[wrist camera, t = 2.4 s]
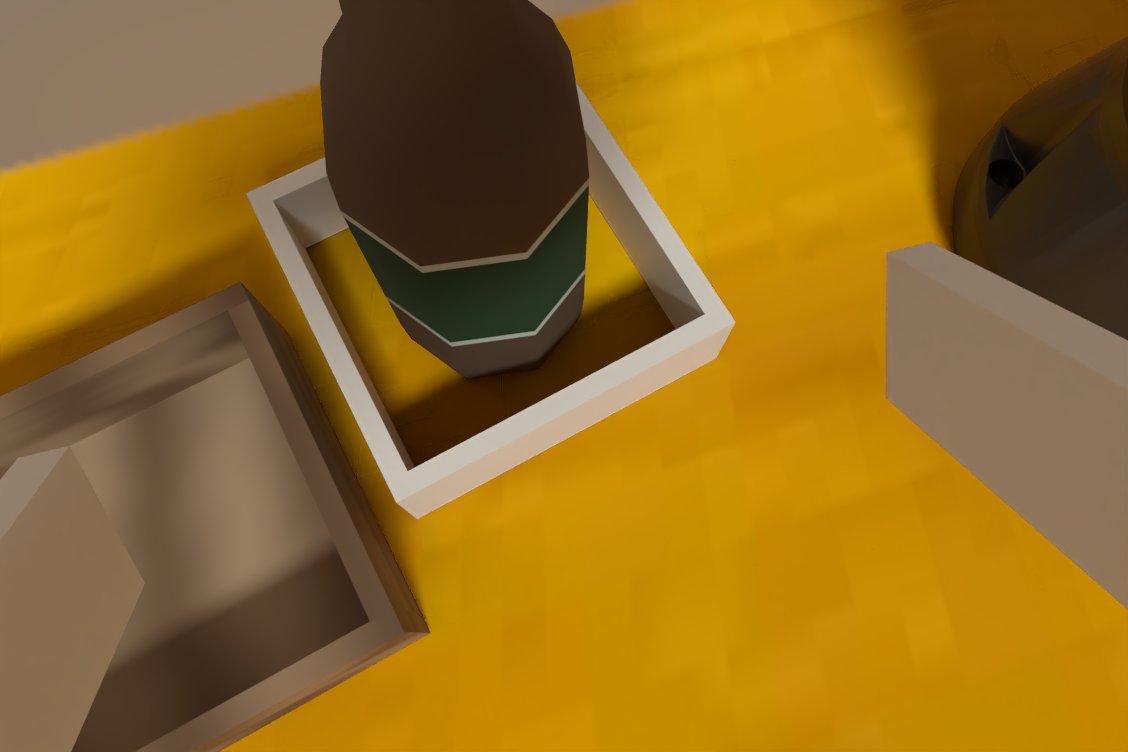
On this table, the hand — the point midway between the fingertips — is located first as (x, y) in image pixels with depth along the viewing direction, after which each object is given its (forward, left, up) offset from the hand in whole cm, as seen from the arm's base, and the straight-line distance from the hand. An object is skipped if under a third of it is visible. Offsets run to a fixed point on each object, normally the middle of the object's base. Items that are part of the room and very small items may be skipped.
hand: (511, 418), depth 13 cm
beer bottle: (-3, -10, -19) cm, 22 cm away
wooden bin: (+12, -6, -19) cm, 23 cm away
